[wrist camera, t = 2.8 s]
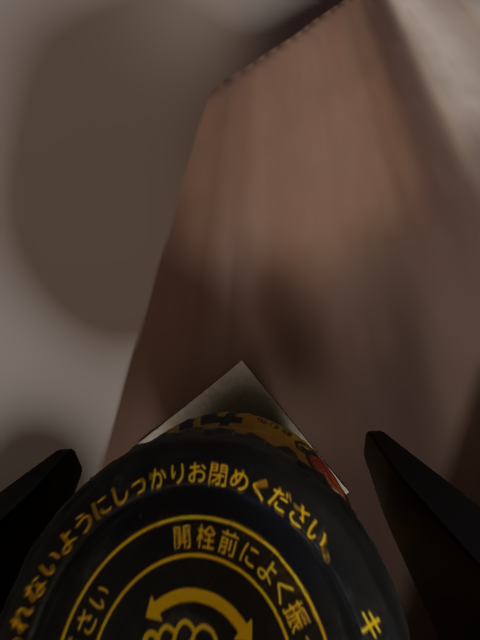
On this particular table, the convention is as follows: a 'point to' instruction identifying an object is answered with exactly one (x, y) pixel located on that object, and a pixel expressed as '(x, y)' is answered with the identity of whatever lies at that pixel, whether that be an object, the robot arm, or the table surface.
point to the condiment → (208, 539)
